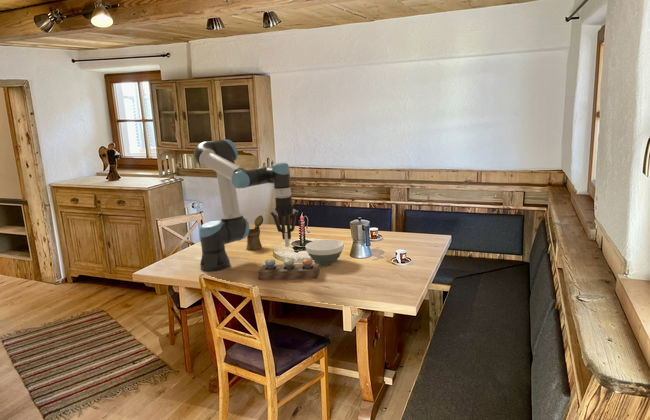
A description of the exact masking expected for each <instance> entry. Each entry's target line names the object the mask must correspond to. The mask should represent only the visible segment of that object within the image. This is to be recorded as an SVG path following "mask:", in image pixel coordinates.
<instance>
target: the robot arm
mask: <svg viewBox="0 0 650 420" xmlns="http://www.w3.org/2000/svg"><path fill="white" fill-rule="evenodd" d="M238 152H239V151H238V148H237V145H236V144H235V143H234V142H233V141H232V140H231V139H219V140H218V139H217V140H210V141H202V142H200V143H199V144H198V145H197V146H195V148H194V150H193V157H194V158H193V159H194V160H195V162H196V164H198V165H199V166H200V167H202V168H204V169H205V168H206V169H208V168H209V169H211V170H213V171H215V172H216V177H217V183H218V190H219V195H220V202H221V209H222V216H221V217H220V219H221V220H213V221H212V220H210V221H206V222H205V223H203V224H201V225H200V227H199V236H200V237H199V238H200V245H201V246H200V247H201V253H202V254H201V257H200V264H199V265H200V270H202V271H204V272H214V271H216V272H217V271H220V270H223V269H227V268H228V267H230V265H231V260H230V259H229V256H228V254H227V252H226V247H225V245H226V244H227V245H228V244H230V243H234V242H238V241H242V240H244V239H245V238H246V239H247V235H248V233H249V229H250V223H249V221H248V219H247V218H246V217H244V215H243V213H241V211H240V207H239V201H238V194H237V189H245V188H249V187H254V186H260V185H265V184H273V188H274V196H275V199H274V200H275V208H274V210H272V211H271V212H270V215H271V216H272V217H273V221H274V223H275V226H276V229H277V232H278V233H281V237H282V240H284V245H285V246H284V247H287V248H288V247H289V246H291V245H290V240H291V238H292V232H294V231H295V226H296V221H297V215H299V214H298V213H299V210H298V209H297V210H296V209H295V208H294V207H293V201H292V200H293V197H292V189H291V188H292V187H291V176H290V174H291V173H290V172H291V171H290V166H289V163H288V162H277V163H273V164H272V165H271V166H272V167H271V166H260V167H258V168H252V169H246V168H243V167H242V166H241V165H237V164H236V163H235V161H236V160H237V159H238V156H239V153H238ZM291 214H292V215H293V216H292V221H291V218H290V217H291V216H290V215H291ZM277 215H278V216H279V217H280V218H278V216H277ZM279 219H280V221H279ZM285 221H286V222H285Z"/></svg>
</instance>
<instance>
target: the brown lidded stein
mask: <svg viewBox="0 0 650 420" xmlns="http://www.w3.org/2000/svg"><path fill="white" fill-rule="evenodd" d="M254 219H255V220H254V225H255V226H254V228H249V233H248V235H247V237H246V239H247V240H246V250H247V251H258V250H261V249H262V247H263V246H262V245H263V244H262V243H261V240H260V235H261V228H260V226H261V225H263V223H264V217H263V215H258V216H257V217H256V218H254Z"/></svg>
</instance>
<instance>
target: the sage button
mask: <svg viewBox="0 0 650 420" xmlns="http://www.w3.org/2000/svg"><path fill="white" fill-rule="evenodd" d="M283 264H284V265H286V269H293V267H292V264H295V261H294V259H292V258H288V259H287V258H286V259H284V260H283Z"/></svg>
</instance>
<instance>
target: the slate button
mask: <svg viewBox="0 0 650 420" xmlns="http://www.w3.org/2000/svg"><path fill="white" fill-rule="evenodd" d="M264 262H265V264H264V265H267V269H268V270H274V265H276V260H275V259H267V260H265V261H264Z"/></svg>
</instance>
